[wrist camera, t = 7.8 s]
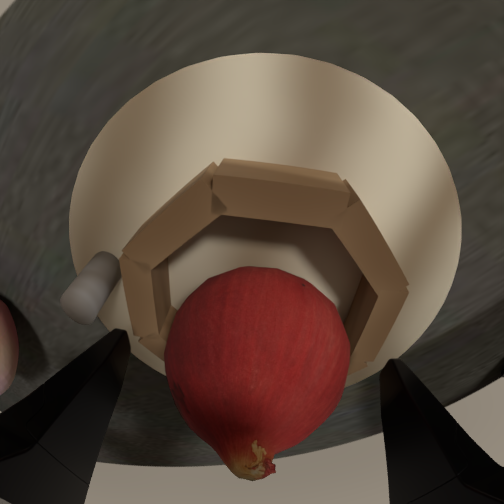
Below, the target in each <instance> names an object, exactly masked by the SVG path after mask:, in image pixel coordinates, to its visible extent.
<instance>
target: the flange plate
mask: <svg viewBox="0 0 504 504" xmlns="http://www.w3.org/2000/svg"><path fill="white" fill-rule="evenodd" d="M69 237H70V245H71V252H72V258H73V262H74V266H75V269H76V272H77V277H76V278H75V280H74V281H73V282H72V283H71V285H70V286H69V287H68V288H67V290H66V291H65V292H64V294H63V295H62V296H61V299H60V302H61V306H62V308H63V310H64V312H65V313H66V314H67V315H68V316H69V317H70V318H71V319H72V320H74V321H75V322H77V323H79V324H83V325H89V324H91V323H93V321H94V320H95V318H96V316H98V317H99V319H100V320H101V321H102V322H103V324H104V325H105V326H106V328H107V329H108V330H109V331H110V332H111V331H112V330H113V329H115V328H119V329H123V330H126V331H127V333H128V337H129V341H130V345H131V353H132V354H134V355H135V356H136V357H137V358H138V359H140V360H141V361H143V362H144V363H146V364H147V365H148V366H150V367H151V368H153V369H154V370H156V371H158V372H160V373H162V374H163V375H165V376H166V373H165V363H164V351H165V347H166V343H167V339H168V335H169V332H170V329H171V326H172V323H173V321H174V318H175V315H176V312H177V311H178V310H179V308H180V307H181V305H182V304H183V303H184V301H185V300H186V298H187V297H188V296H189V295H190V294H191V293H192V292H193V291H194V290H196V289H197V288H198V287H199V286H200V285H201V284H202V283H203V282H204V281H206V280H207V279H208V278H210V277H213V276H216V275H219V274H221V273H224V272H227V271H230V270H233V269H236V268H239V267H244V266H255V267H268V268H278V269H281V270H283V271H286V272H288V273H291V274H293V275H296V276H298V277H301V278H304V279H305V280H307V281H308V282H310V283H311V284H313V285H314V286H315V287H316V288H317V289H318V290H319V291H321V292H322V293H323V294H324V295H325V296H326V297H327V298H328V299H330V300H331V301H332V302H333V303H334V304H335V306H336V308H337V311H338V313H339V316H340V318H341V320H342V323H343V325H344V328H345V331H346V334H347V336H348V339H349V342H350V364H349V369H348V374H347V379H346V383H345V387H347V386H350V385H352V384H355V383H357V382H359V381H361V380H363V379H365V378H367V377H369V376H371V375H373V374H375V373H376V372H378V371H379V370H381V369H382V368H384V366H385V365H386V363H387V361H388V360H389V359H391V358H398V357H399V356H400V355H402V354H403V353H404V352H405V351H406V350H407V349H408V348H409V347H410V346H411V345H412V344H413V343H414V342H415V341H416V340H417V339H418V338H419V337H420V336H421V335H422V334H423V333H424V331H425V330H426V329H427V328H428V326H429V325H430V324H431V322H432V321H433V320H434V318H435V316H436V315H437V313H438V312H439V310H440V308H441V307H442V305H443V303H444V301H445V299H446V297H447V294H448V292H449V290H450V288H451V285H452V282H453V279H454V276H455V272H456V269H457V265H458V261H459V254H460V247H461V213H460V207H459V201H458V195H457V191H456V188H455V185H454V182H453V178H452V176H451V173H450V170H449V167H448V165H447V163H446V161H445V159H444V157H443V156H442V154H441V152H440V150H439V148H438V146H437V144H436V143H435V141H434V140H433V139H432V137H431V136H430V135H429V133H428V132H427V131H426V129H425V128H424V127H423V125H422V124H421V123H420V122H419V120H418V119H417V118H416V117H415V116H414V115H413V114H412V113H411V112H410V111H409V110H408V109H406V108H405V107H404V106H403V105H402V104H401V103H400V102H399V101H398V100H397V99H396V98H394V97H393V96H392V95H390V94H389V93H387V92H386V91H384V90H383V89H381V88H380V87H378V86H377V85H375V84H374V83H372V82H370V81H369V80H367V79H366V78H364V77H361V76H359V75H357V74H355V73H353V72H350V71H348V70H346V69H343V68H341V67H338V66H336V65H333V64H331V63H327V62H323V61H319V60H315V59H310V58H306V57H302V56H297V55H287V54H272V53H251V54H241V55H232V56H224V57H219V58H215V59H211V60H208V61H204V62H201V63H197V64H194V65H191V66H188V67H185V68H183V69H181V70H179V71H176V72H174V73H172V74H170V75H168V76H166V77H164V78H162V79H160V80H158V81H156V82H154V83H153V84H152V85H150V86H149V87H147V88H146V89H144V90H143V91H142V92H140V93H139V94H137V95H136V96H135V97H133V98H132V99H131V100H129V101H128V102H127V103H126V104H125V105H124V106H123V107H122V108H121V109H120V110H119V111H118V112H117V113H116V114H115V115H114V116H113V117H112V118H111V119H110V120H109V121H108V122H107V124H106V125H105V126H104V128H103V129H102V131H101V132H100V133H99V135H98V136H97V138H96V139H95V141H94V142H93V143H92V145H91V147H90V149H89V151H88V153H87V155H86V157H85V159H84V161H83V163H82V165H81V167H80V169H79V173H78V176H77V179H76V182H75V186H74V189H73V193H72V199H71V206H70V214H69ZM345 387H344V388H345Z"/></svg>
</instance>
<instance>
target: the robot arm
mask: <svg viewBox="0 0 504 504" xmlns="http://www.w3.org/2000/svg"><path fill="white" fill-rule="evenodd" d="M130 352H131V345H130V341H129V337H128V333H127V331H126V330H123V329H119V328H115V329H113V330H112V331H111V332H109V333H108V334H107V335H105V336H104V337H103V338H101V339H100V340H99V341H97V342H96V343H95V344H93V345H92V346H91V347H90V348H88V349H87V350H86V351H84V352H83V353H82V354H81V355H79V356H78V357H77V358H75V359H74V360H73V361H71V362H70V363H69V364H68V365H66V366H65V367H64V368H62V369H61V370H60V371H59V372H57V373H56V374H55V375H54V376H52V377H51V378H50V379H48V380H47V381H46V382H45V383H44V384H42V385H41V386H39V387H38V388H37V389H36V390H34V391H33V392H32V393H30V394H29V395H28V396H26V397H25V398H23V399H22V400H20V401H19V402H17V403H16V404H14V405H13V406H11V407H10V408H8V409H6V410H5V411H3V412H2V413H0V504H84V502H85V499H86V495H87V491H88V488H89V484H90V481H91V477H92V474H93V471H94V467H95V464H96V461H97V458H98V455H99V452H100V448H101V445H102V442H103V439H104V436H105V433H106V430H107V428H108V425H109V422H110V419H111V416H112V413H113V410H114V408H115V405H116V402H117V399H118V397H119V394H120V391H121V388H122V384H123V380H124V376H125V372H126V368H127V364H128V360H129V356H130ZM501 375H502V377H504V369H503V370H502V371H501ZM380 400H381V418H382V426H383V434H384V442H385V450H386V461H387V472H388V484H389V498H390V504H504V467H502V466H500V465H499V464H497V463H496V462H495V461H494V460H493V459H492V458H490V456H489V455H488V454H487V453H486V452H485V451H484V450H483V449H482V448H481V447H480V446H478V445H477V444H476V442H474V440H473V439H472V438H471V437H470V436H469V435H468V434H467V433H466V432H465V431H464V430H463V428H462V427H461V426H460V425H459V424H458V423H457V422H456V420H455V419H454V418H453V417H452V416H451V415H450V413H449V412H448V411H447V410H446V409H445V408H444V407H443V405H442V404H441V403H440V402H439V401H438V400H437V399H436V397H435V396H434V395H433V394H432V393H431V392H430V391H429V390H428V388H427V387H426V386H425V385H424V384H423V383H422V382H421V381H420V379H419V378H418V377H417V376H416V375H415V374H414V373H413V372H412V371H411V370H410V368H409V367H408V366H407V365H406V364H405V363H404V362H403V361H402V360H401V359H399V358H391V359H389V360H388V361H387V363H386V365H385V366H384V368H383V369H382V371H381V373H380Z"/></svg>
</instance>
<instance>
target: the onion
mask: <svg viewBox="0 0 504 504" xmlns="http://www.w3.org/2000/svg"><path fill="white" fill-rule="evenodd" d="M164 363H165V373H166V376H167V380H168V384H169V387H170V390H171V393H172V396H173V399H174V402H175V405H176V407H177V409H178V411H179V412H180V414H181V416H182V418H183V419H184V420H185V422H186V423H187V425H188V426H189V428H190V429H192V430H193V431H194V432H195V433H196V434H197V435H198V436H199V437H200V438H201V439H202V440H204V441H205V442H206V443H207V444H209V445H210V446H211V447H212V448H213V449H214V450H215V451H216V452H217V453H218V455H219V456H220V458H221V459H222V460H223V462H224V463H225V465H226V466H227V467H228V468H229V469H230V471H231V472H232V473H233V474H234V475H236V476H237V477H238V478H243V479H246V480H250V481H255V480H259V479H263V478H265V477H267V476H268V475H270V474H272V473H276V471H275V464H273V463H272V460H273V457H274V454H277V453H279V452H281V451H284V450H286V449H288V448H291V447H293V446H295V445H297V444H298V443H300V442H301V441H303V440H304V439H306V438H307V437H308V436H309V435H310V434H311V433H312V432H313V431H315V430H316V429H317V428H318V427H319V426H320V425H321V424H322V423H323V422H324V421H325V420H326V419H327V418H328V417H329V416H330V415H331V414H332V412H333V411H334V410H335V408H336V406H337V404H338V403H339V401H340V399H341V397H342V393H343V390H344V387H345V383H346V379H347V374H348V369H349V364H350V342H349V339H348V336H347V334H346V331H345V328H344V325H343V323H342V320H341V318H340V316H339V313H338V311H337V308H336V306H335V304H334V303H333V302H332V301H331V300H330V299H328V298H327V297H326V296H325V295H324V294H323V293H322V292H321V291H319V290H318V289H317V288H316V287H315V286H314V285H313V284H311V283H310V282H308V281H307V280H305V279H304V278H301V277H298V276H296V275H293V274H291V273H288V272H286V271H283V270H281V269H278V268H268V267H255V266H244V267H239V268H236V269H233V270H230V271H227V272H224V273H221V274H219V275H216V276H213V277H210V278H208V279H207V280H206V281H204V282H203V283H202V284H201V285H200V286H199V287H198V288H197V289H196V290H194V291H193V292H192V293H191V294H190V295H189V296H188V297H187V298H186V300H185V301H184V303H183V304H182V305H181V307H180V308H179V310H178V311H177V312H176V315H175V318H174V321H173V323H172V326H171V329H170V332H169V335H168V339H167V343H166V347H165V351H164Z"/></svg>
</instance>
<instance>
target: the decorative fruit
mask: <svg viewBox="0 0 504 504" xmlns="http://www.w3.org/2000/svg"><path fill="white" fill-rule="evenodd" d="M18 356H19V342H18V335H17V330H16V327H15V323H14V320H13V318H12V315H11V313H10V311H9V309H8V307H7V305H6V304H5V303H4V302H3V301H2V300H0V395H1V394H2V393H4V392H5V391H6V390H7V389H8V388H9V387H10V385H11V384H12V382H13V379H14V377H15V374H16V369H17V364H18Z"/></svg>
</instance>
